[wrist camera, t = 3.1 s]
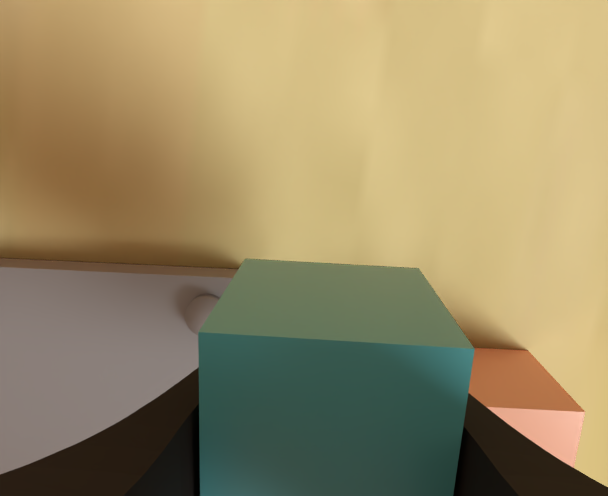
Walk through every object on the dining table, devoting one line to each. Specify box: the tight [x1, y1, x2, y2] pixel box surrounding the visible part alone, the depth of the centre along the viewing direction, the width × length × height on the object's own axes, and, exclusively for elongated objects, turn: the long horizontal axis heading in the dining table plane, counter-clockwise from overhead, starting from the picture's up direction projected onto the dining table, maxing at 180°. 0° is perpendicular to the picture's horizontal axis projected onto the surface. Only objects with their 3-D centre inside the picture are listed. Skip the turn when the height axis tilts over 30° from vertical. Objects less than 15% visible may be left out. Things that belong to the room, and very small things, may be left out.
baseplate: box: [0, 258, 238, 474], centre depth 20 cm, size 14×13×2 cm
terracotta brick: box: [468, 348, 585, 468], centre depth 18 cm, size 6×4×4 cm
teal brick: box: [198, 259, 475, 496], centre depth 10 cm, size 6×4×4 cm
